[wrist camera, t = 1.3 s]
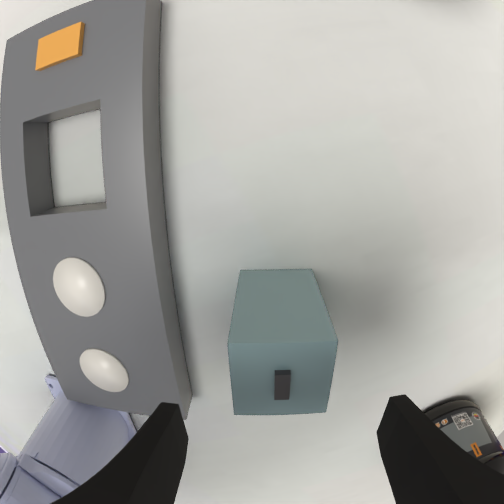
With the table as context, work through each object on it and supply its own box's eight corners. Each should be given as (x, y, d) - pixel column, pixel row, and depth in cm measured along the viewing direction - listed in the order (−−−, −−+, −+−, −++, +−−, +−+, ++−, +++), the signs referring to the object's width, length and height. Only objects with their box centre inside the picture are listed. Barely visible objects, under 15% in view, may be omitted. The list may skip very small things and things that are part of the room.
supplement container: (441, 455, 24) (472, 531, 13) (366, 465, 24) (388, 560, 13) (492, 390, 21) (544, 471, 10) (416, 396, 21) (468, 511, 9)
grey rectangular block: (308, 328, 18) (327, 416, 12) (243, 330, 19) (233, 419, 12) (311, 268, 17) (339, 345, 10) (240, 270, 17) (226, 348, 10)
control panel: (192, 395, 21) (185, 424, 18) (79, 380, 21) (65, 402, 18) (161, 2, 12) (145, -20, 10) (29, 46, 13) (3, 39, 10)
